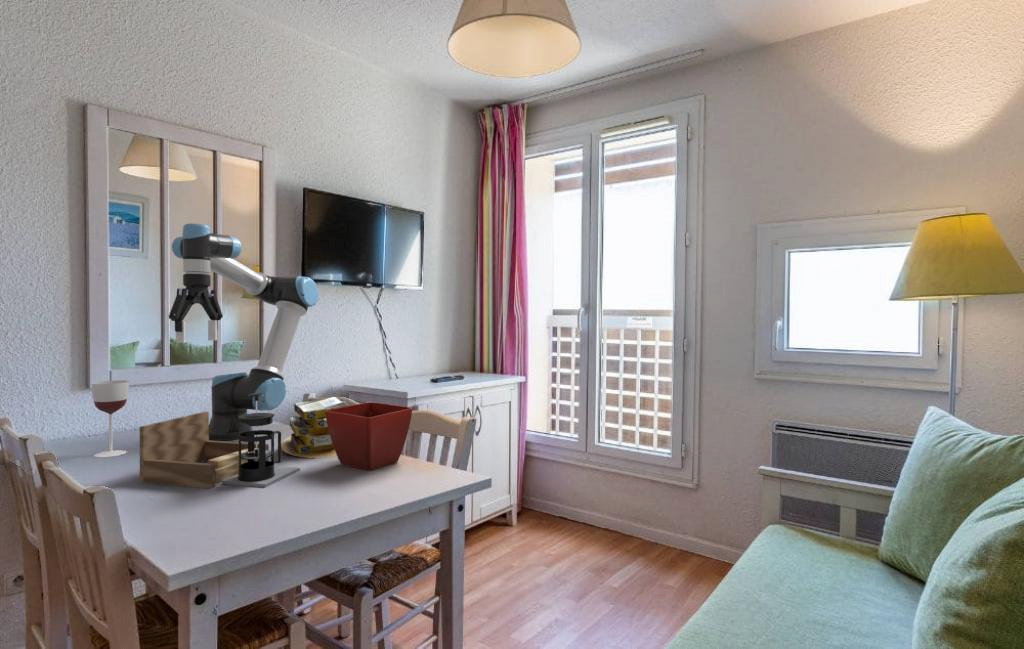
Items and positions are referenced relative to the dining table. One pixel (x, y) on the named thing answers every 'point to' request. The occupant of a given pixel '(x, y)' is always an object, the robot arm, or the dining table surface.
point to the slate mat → (279, 474)
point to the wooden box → (182, 452)
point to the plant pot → (368, 433)
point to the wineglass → (110, 405)
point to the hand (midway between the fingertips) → (197, 341)
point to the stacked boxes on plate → (311, 429)
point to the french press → (252, 468)
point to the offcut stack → (227, 465)
